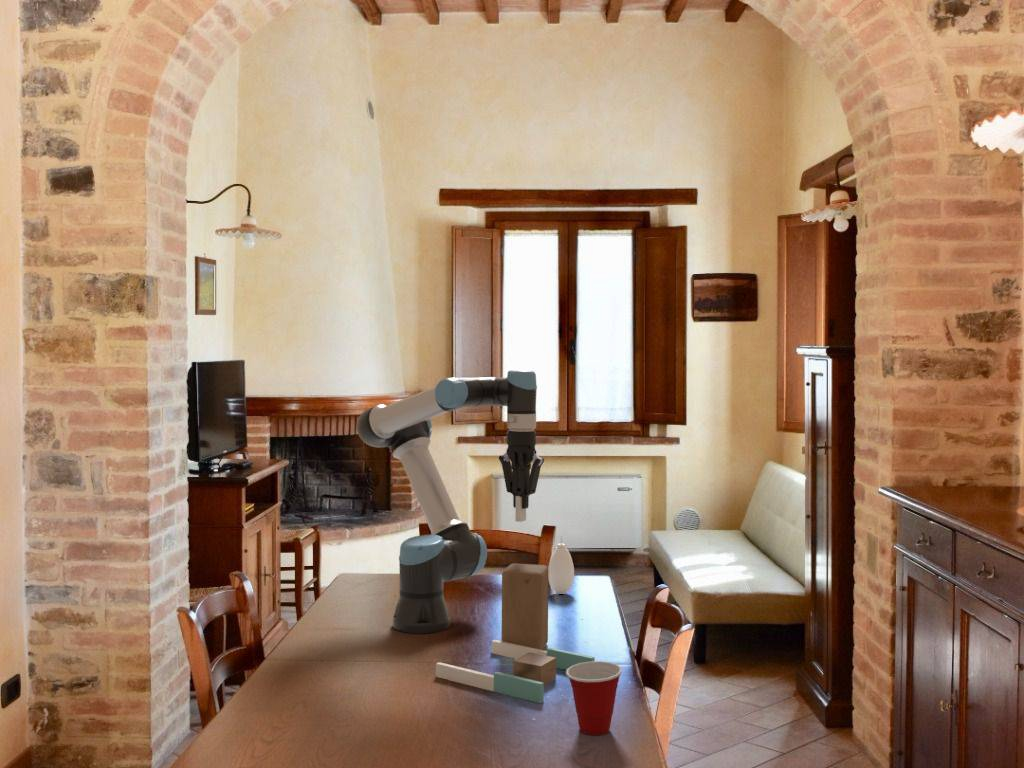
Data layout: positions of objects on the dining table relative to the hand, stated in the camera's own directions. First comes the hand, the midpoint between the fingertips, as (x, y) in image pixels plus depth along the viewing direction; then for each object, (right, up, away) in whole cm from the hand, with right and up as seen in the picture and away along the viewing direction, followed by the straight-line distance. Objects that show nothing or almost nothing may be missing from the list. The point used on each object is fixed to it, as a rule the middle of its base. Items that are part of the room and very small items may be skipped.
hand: (520, 520), depth 249 cm
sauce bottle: (+13, -29, +42) cm, 52 cm away
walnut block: (+3, -31, -35) cm, 47 cm away
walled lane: (-2, -30, -32) cm, 44 cm away
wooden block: (+1, -30, -12) cm, 32 cm away
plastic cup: (+13, -32, -63) cm, 72 cm away
